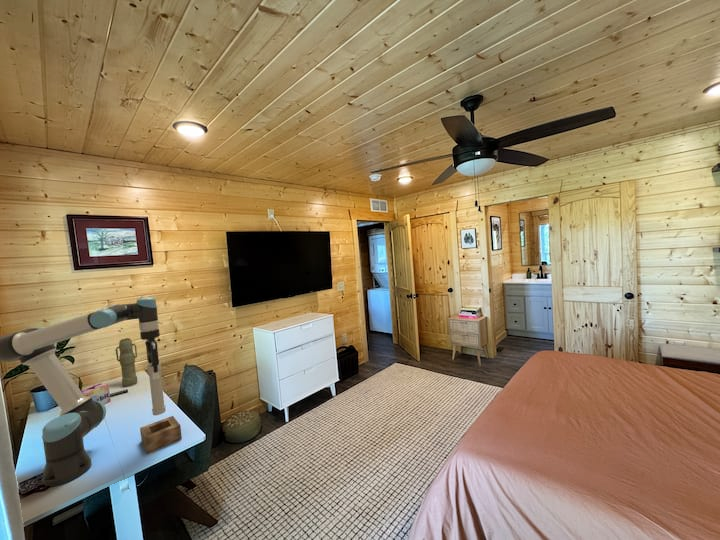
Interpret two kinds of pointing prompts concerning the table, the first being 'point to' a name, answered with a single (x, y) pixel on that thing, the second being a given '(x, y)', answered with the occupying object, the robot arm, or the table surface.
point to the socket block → (160, 434)
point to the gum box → (98, 393)
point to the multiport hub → (119, 393)
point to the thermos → (127, 362)
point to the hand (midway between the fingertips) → (154, 377)
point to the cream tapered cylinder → (156, 392)
